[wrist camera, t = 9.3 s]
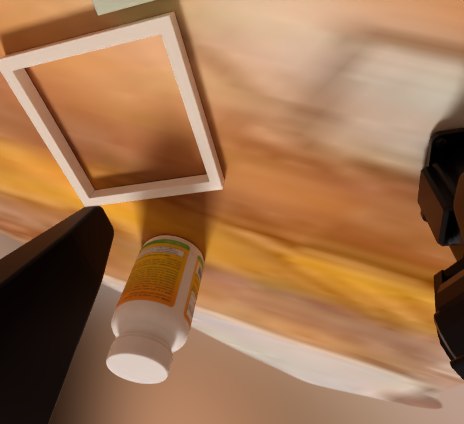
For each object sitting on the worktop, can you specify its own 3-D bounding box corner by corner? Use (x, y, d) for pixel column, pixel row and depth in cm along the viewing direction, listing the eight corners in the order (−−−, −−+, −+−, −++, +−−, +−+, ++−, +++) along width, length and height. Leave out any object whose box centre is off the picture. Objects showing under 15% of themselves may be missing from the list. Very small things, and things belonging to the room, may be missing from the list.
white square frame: (174, 10, 18) (169, 15, 17) (224, 180, 24) (222, 189, 23) (5, 55, 20) (-6, 60, 19) (90, 198, 26) (85, 207, 26)
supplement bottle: (128, 249, 30) (76, 360, 22) (173, 222, 27) (132, 338, 20) (173, 284, 32) (139, 395, 25) (218, 263, 29) (196, 379, 22)
